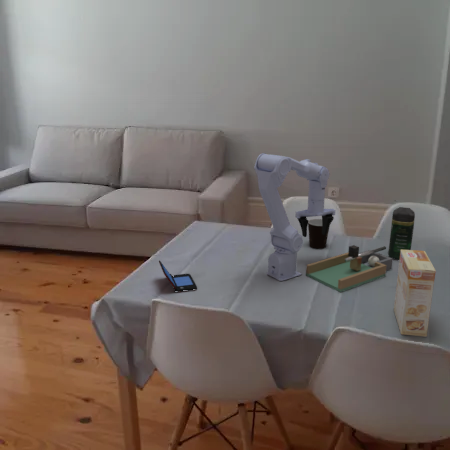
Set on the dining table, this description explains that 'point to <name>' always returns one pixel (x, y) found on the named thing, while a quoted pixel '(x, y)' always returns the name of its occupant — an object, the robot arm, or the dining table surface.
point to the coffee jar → (401, 231)
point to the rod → (359, 256)
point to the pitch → (347, 271)
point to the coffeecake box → (414, 292)
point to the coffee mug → (317, 234)
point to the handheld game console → (179, 280)
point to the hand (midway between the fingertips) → (314, 235)
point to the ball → (373, 260)
